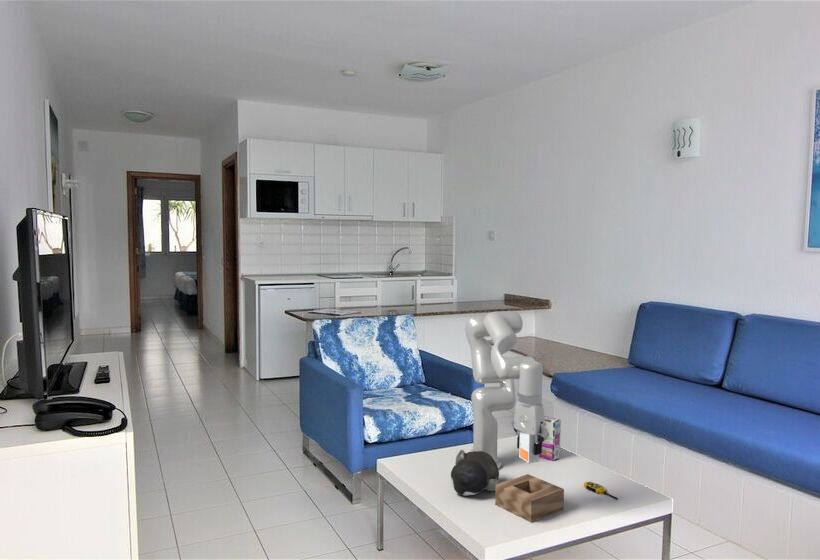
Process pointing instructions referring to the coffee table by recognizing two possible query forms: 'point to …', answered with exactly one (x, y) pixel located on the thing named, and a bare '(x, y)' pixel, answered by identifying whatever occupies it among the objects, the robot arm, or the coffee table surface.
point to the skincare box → (527, 448)
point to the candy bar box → (551, 439)
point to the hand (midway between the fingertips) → (529, 450)
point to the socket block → (529, 497)
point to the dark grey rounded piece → (474, 473)
